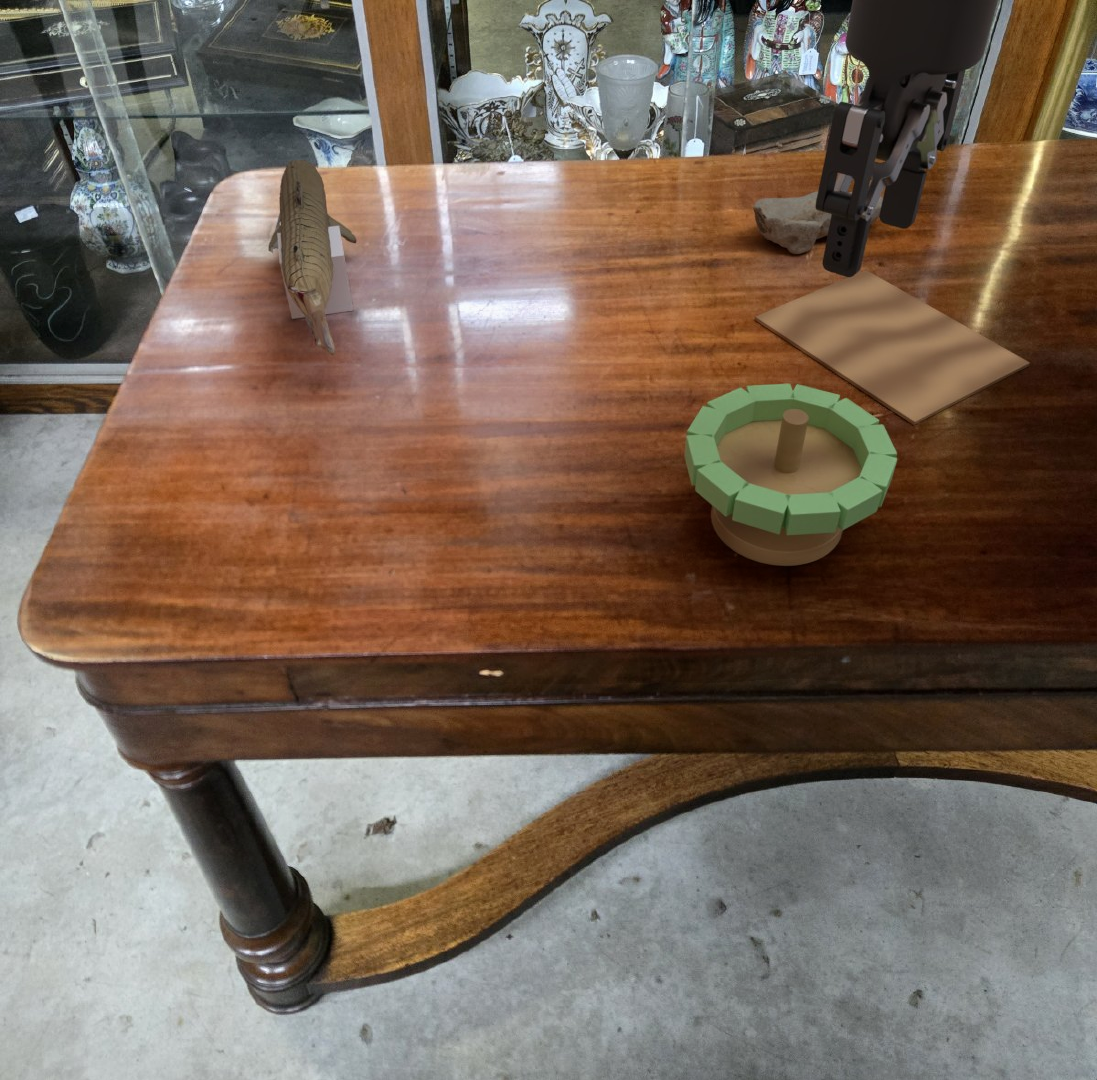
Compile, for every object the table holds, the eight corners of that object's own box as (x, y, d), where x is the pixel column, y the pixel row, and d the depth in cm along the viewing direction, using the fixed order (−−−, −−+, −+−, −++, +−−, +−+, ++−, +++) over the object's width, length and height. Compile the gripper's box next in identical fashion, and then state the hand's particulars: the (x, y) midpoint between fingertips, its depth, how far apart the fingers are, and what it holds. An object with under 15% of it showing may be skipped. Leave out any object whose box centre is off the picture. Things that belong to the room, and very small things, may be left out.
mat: (1028, 366, 94) (1030, 362, 93) (913, 425, 88) (914, 421, 88) (865, 273, 106) (865, 269, 105) (754, 319, 100) (754, 316, 100)
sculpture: (845, 211, 117) (733, 231, 112) (858, 171, 113) (742, 189, 108) (884, 243, 112) (770, 264, 107) (899, 201, 109) (781, 222, 104)
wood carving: (284, 423, 90) (256, 311, 82) (270, 231, 114) (248, 131, 106) (387, 408, 91) (369, 296, 83) (352, 221, 115) (336, 121, 107)
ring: (932, 481, 75) (939, 460, 73) (781, 564, 69) (785, 543, 67) (790, 383, 83) (794, 362, 82) (646, 449, 78) (647, 428, 76)
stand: (885, 532, 79) (916, 428, 72) (771, 597, 74) (792, 493, 67) (780, 452, 86) (798, 350, 79) (670, 507, 81) (679, 404, 74)
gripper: (951, 3, 49) (878, 309, 60) (1045, -52, 58) (966, 224, 69) (808, -21, 53) (763, 272, 63) (916, -71, 61) (860, 195, 72)
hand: (869, 247), depth 66 cm, fingers open, 8 cm apart
